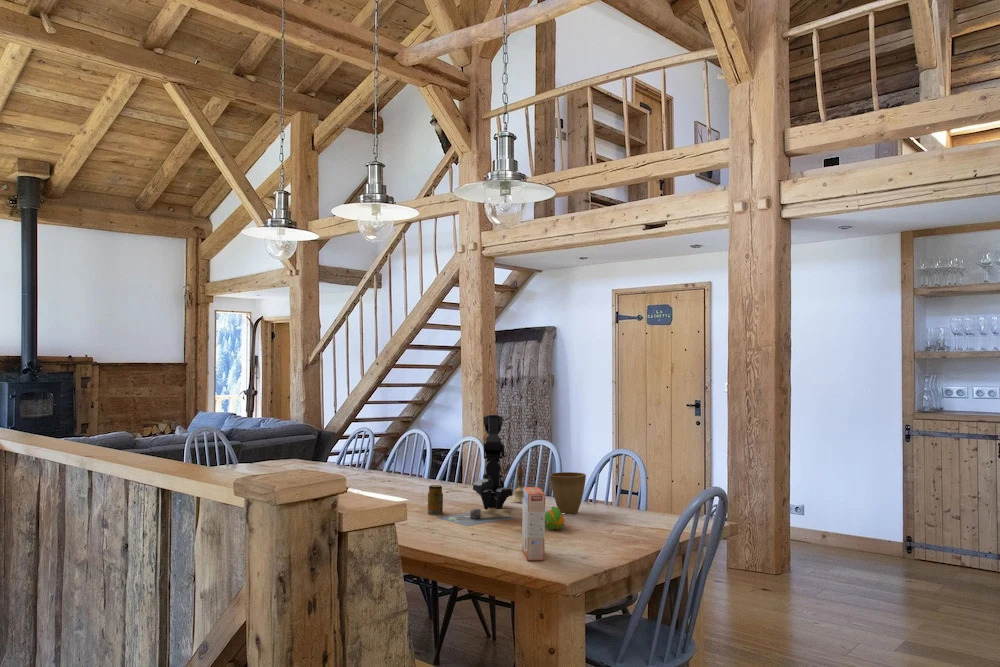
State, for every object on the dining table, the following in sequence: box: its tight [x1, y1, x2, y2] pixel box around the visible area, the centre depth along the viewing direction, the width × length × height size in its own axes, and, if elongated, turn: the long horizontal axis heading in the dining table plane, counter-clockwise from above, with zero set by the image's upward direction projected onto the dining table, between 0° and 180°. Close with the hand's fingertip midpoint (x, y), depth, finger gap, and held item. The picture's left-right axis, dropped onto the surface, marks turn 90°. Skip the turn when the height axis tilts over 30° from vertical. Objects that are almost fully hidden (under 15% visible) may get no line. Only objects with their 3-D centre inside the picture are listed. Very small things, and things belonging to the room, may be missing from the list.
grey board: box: [436, 512, 520, 527], centre depth 298 cm, size 26×20×1 cm
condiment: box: [427, 484, 444, 516], centre depth 306 cm, size 7×8×12 cm
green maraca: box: [545, 506, 565, 531], centre depth 286 cm, size 7×8×20 cm
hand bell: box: [510, 465, 524, 502], centre depth 339 cm, size 8×8×16 cm
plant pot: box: [549, 471, 587, 515], centre depth 313 cm, size 15×15×16 cm
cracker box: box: [521, 486, 546, 562], centre depth 243 cm, size 14×6×21 cm, turn 5°
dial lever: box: [450, 508, 512, 519], centre depth 296 cm, size 24×4×3 cm, turn 102°
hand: (491, 511), depth 303 cm, fingers open, 7 cm apart
